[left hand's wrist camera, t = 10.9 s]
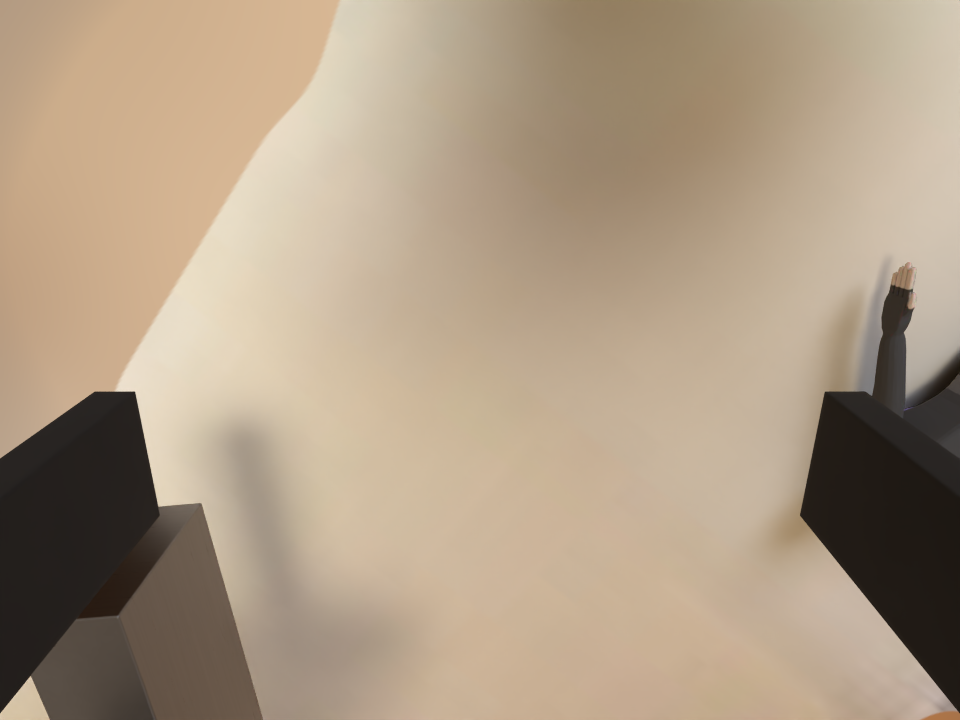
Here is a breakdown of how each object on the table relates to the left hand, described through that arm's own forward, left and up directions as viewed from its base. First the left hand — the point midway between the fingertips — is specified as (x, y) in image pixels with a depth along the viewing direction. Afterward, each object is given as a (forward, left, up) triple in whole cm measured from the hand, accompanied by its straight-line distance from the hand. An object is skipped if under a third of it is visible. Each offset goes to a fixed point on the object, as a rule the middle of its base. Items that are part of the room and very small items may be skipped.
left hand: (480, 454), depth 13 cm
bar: (+30, -2, -19) cm, 36 cm away
